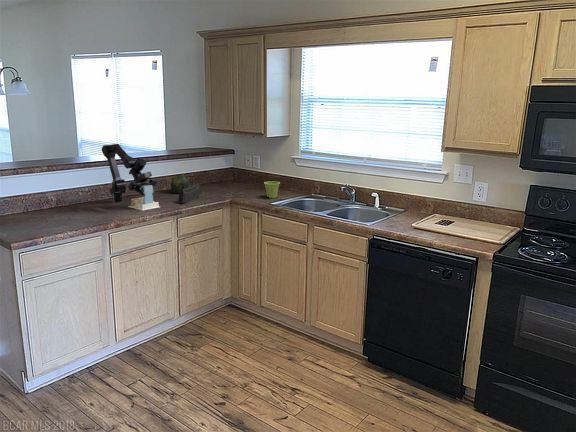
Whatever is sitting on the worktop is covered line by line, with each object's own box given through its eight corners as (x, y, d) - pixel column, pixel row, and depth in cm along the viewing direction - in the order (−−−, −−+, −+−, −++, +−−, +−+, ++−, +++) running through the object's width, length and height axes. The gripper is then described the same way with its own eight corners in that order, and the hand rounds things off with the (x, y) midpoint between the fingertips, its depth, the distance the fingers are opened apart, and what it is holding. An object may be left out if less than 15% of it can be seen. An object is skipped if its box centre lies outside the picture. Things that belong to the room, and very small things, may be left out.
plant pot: (275, 195, 345) (276, 180, 343) (282, 198, 335) (282, 183, 332) (261, 196, 340) (261, 181, 338) (267, 199, 330) (267, 184, 327)
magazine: (180, 192, 302) (198, 173, 327) (176, 192, 303) (194, 173, 328) (184, 214, 310) (202, 194, 335) (180, 214, 311) (198, 194, 336)
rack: (127, 208, 291) (126, 201, 290) (145, 205, 302) (145, 198, 300) (142, 212, 281) (142, 205, 280) (161, 209, 292) (160, 202, 291)
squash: (163, 185, 342) (174, 172, 336) (175, 183, 356) (186, 170, 350) (175, 199, 340) (186, 186, 334) (186, 196, 354) (197, 183, 348)
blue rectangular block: (143, 205, 286) (142, 186, 283) (151, 203, 291) (150, 185, 288) (145, 205, 285) (144, 186, 282) (153, 204, 290) (152, 185, 287)
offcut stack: (131, 206, 291) (130, 199, 290) (143, 203, 299) (143, 197, 298) (137, 207, 287) (137, 200, 286) (150, 205, 295) (150, 198, 294)
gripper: (129, 169, 277) (141, 189, 274) (155, 166, 292) (166, 185, 288) (122, 180, 284) (134, 200, 280) (148, 176, 298) (159, 195, 295)
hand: (149, 194), depth 286 cm, fingers closed on blue rectangular block, 6 cm apart
